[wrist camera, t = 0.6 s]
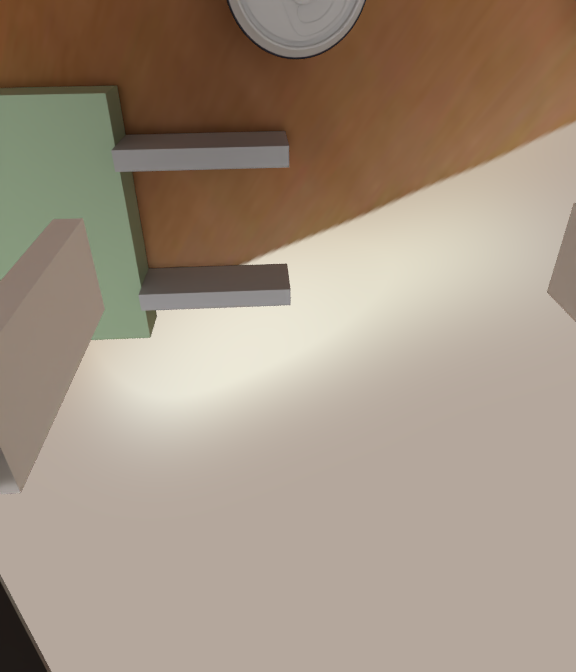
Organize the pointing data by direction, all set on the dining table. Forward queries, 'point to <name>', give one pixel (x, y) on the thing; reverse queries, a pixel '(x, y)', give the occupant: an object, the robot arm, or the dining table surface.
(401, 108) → the dining table surface
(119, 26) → the dining table surface
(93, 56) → the dining table surface
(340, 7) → the beverage can
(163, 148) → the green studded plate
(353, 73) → the dining table surface
